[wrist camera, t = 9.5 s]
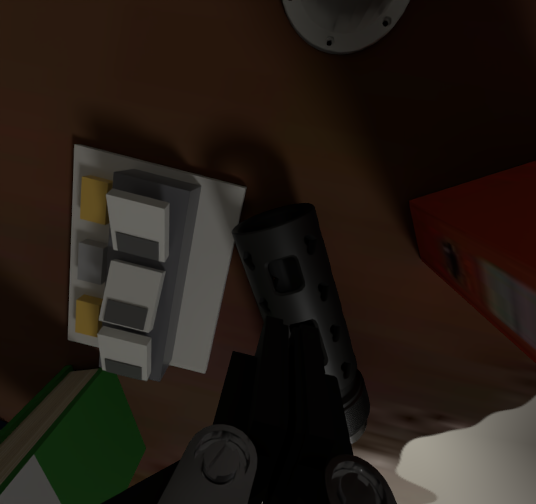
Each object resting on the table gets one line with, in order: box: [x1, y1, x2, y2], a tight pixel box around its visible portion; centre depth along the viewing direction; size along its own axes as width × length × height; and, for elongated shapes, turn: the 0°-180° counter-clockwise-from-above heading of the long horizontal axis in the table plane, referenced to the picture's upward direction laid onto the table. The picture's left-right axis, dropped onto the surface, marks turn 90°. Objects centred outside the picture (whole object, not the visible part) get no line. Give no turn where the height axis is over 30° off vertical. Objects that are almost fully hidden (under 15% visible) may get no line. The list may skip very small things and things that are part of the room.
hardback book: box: [0, 365, 146, 504], centre depth 39 cm, size 18×7×24 cm, turn 10°
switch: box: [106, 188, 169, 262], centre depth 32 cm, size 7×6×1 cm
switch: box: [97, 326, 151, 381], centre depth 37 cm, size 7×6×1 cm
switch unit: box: [68, 144, 247, 382], centre depth 39 cm, size 27×20×6 cm
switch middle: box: [99, 259, 166, 333], centre depth 35 cm, size 7×6×1 cm
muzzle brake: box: [231, 203, 370, 444], centre depth 37 cm, size 10×28×10 cm, turn 18°
